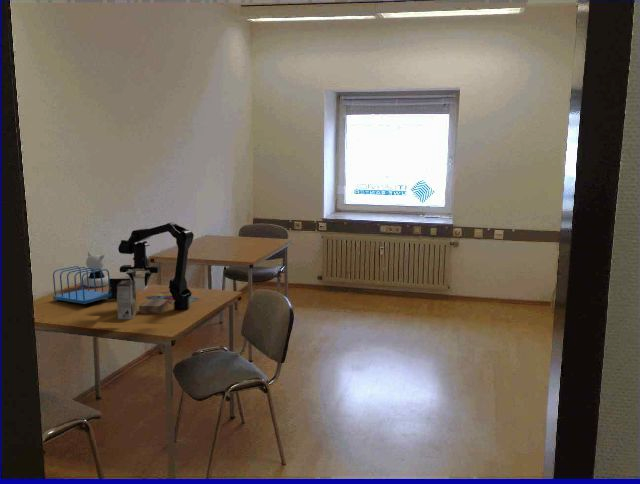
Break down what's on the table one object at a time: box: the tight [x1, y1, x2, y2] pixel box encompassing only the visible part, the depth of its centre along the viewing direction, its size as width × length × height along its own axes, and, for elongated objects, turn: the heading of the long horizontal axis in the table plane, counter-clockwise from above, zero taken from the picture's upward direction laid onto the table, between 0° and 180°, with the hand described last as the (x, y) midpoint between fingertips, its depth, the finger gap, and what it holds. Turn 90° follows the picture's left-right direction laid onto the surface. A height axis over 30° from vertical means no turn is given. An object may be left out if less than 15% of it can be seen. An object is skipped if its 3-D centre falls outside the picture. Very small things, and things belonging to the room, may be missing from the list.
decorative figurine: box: [83, 251, 109, 288], centre depth 319 cm, size 15×15×20 cm
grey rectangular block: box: [107, 278, 130, 300], centre depth 291 cm, size 11×4×10 cm, turn 98°
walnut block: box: [138, 298, 169, 314], centre depth 270 cm, size 10×13×4 cm
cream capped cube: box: [133, 273, 149, 291], centre depth 277 cm, size 5×5×7 cm
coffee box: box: [116, 280, 137, 320], centre depth 257 cm, size 9×6×16 cm
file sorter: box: [52, 265, 112, 305], centre depth 288 cm, size 25×17×15 cm
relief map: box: [145, 290, 202, 305], centre depth 293 cm, size 25×15×2 cm, turn 52°
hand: (140, 285), depth 278 cm, fingers closed on cream capped cube, 5 cm apart
